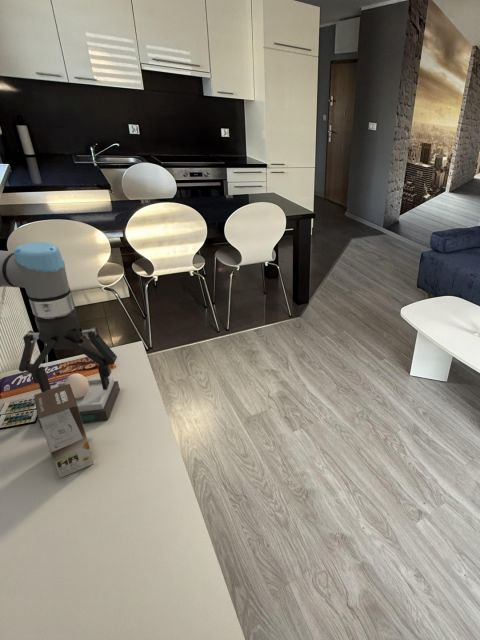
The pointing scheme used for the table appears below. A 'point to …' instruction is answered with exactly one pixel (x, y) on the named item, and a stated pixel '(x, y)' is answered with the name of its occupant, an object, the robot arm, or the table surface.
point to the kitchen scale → (96, 401)
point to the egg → (78, 385)
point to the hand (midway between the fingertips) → (77, 389)
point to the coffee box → (63, 429)
